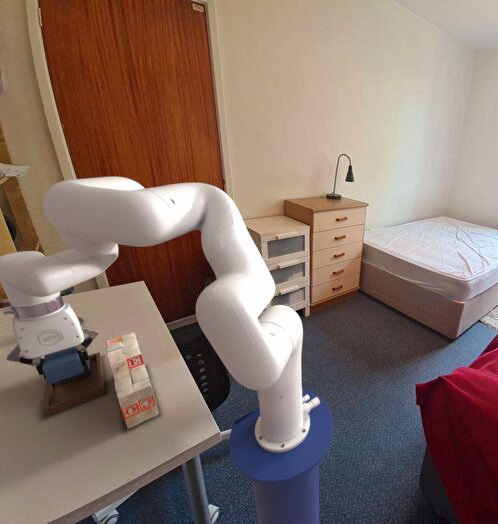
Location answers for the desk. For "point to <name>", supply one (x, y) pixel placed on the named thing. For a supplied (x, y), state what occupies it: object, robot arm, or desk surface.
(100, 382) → the pad tray
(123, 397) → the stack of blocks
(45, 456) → the desk surface
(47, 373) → the blue block
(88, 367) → the seated pad
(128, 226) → the robot arm
